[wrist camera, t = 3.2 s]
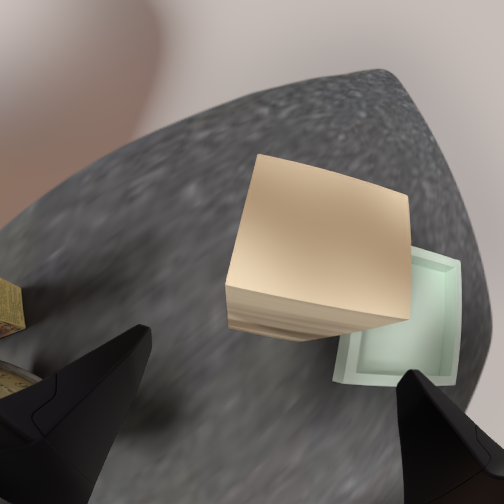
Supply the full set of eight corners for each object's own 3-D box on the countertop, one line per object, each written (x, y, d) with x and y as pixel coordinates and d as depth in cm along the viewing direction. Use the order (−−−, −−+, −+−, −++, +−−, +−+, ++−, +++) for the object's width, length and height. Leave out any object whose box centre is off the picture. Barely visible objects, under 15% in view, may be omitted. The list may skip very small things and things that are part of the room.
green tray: (440, 384, 18) (455, 385, 16) (332, 381, 18) (342, 383, 16) (447, 267, 22) (460, 261, 20) (350, 241, 22) (359, 231, 20)
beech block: (299, 341, 19) (409, 319, 6) (228, 328, 19) (225, 284, 6) (308, 288, 20) (407, 196, 8) (240, 273, 20) (258, 153, 8)
